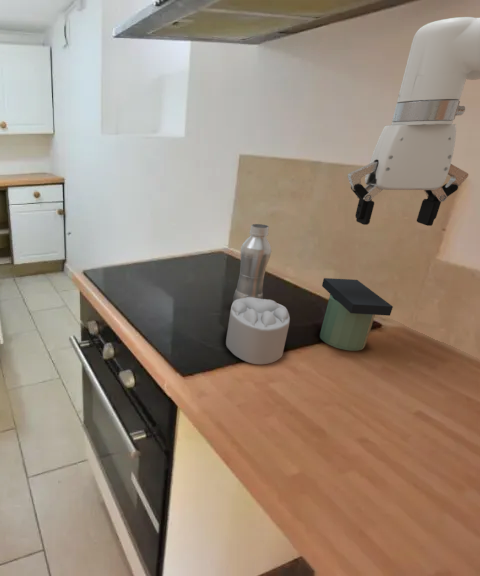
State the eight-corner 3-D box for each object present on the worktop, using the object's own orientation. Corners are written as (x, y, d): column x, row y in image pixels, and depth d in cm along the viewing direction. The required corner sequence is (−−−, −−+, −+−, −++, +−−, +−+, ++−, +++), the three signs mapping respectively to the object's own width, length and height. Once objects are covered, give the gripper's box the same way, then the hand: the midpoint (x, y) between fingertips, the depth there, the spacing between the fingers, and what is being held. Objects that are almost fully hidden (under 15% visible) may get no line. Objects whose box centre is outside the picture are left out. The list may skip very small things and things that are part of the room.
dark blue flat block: (354, 287, 78) (357, 279, 77) (390, 315, 66) (393, 306, 66) (321, 286, 79) (323, 277, 78) (350, 313, 67) (353, 304, 66)
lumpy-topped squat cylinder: (281, 335, 78) (289, 297, 74) (284, 369, 67) (294, 326, 63) (228, 326, 81) (233, 289, 78) (223, 357, 70) (229, 315, 67)
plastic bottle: (263, 307, 90) (278, 224, 83) (257, 318, 85) (273, 231, 77) (235, 301, 94) (247, 221, 86) (228, 311, 88) (240, 227, 81)
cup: (353, 332, 79) (365, 292, 76) (372, 352, 72) (386, 309, 69) (313, 329, 80) (323, 290, 77) (328, 349, 73) (340, 306, 70)
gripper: (468, 114, 61) (434, 219, 68) (351, 117, 64) (329, 218, 70) (507, 112, 54) (465, 229, 61) (374, 115, 57) (348, 227, 63)
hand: (392, 223), depth 66 cm, fingers open, 9 cm apart
